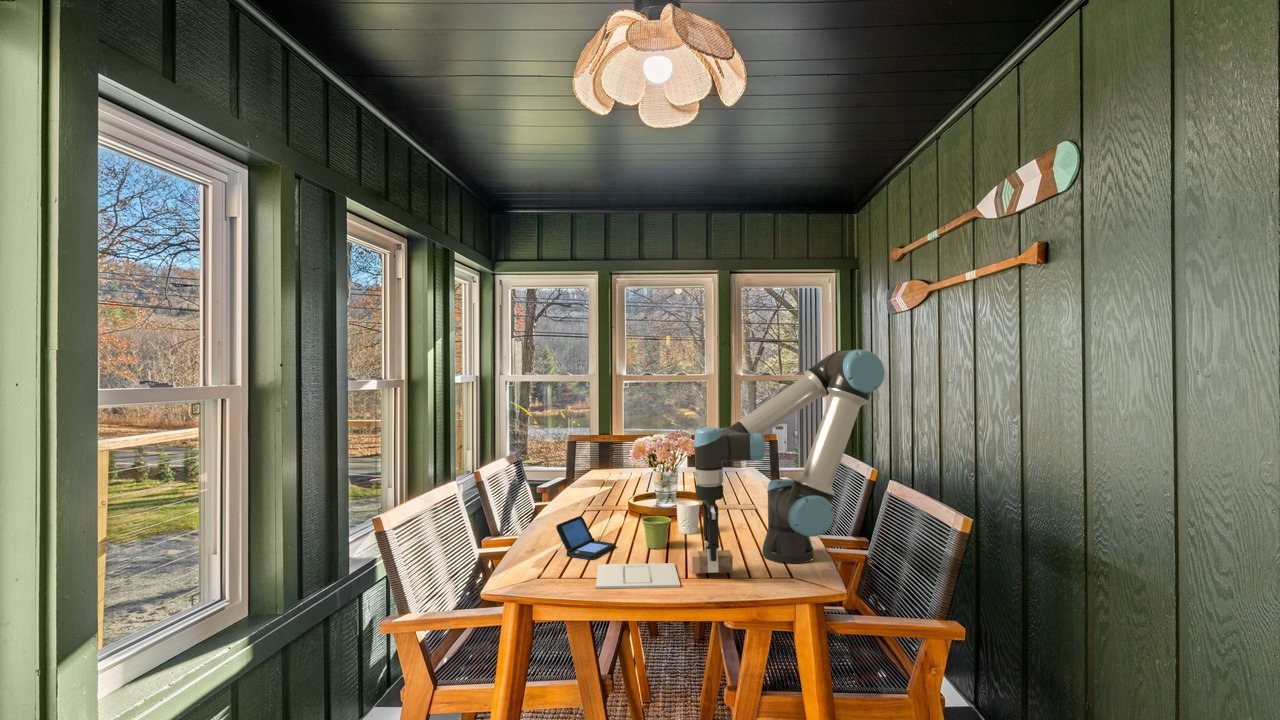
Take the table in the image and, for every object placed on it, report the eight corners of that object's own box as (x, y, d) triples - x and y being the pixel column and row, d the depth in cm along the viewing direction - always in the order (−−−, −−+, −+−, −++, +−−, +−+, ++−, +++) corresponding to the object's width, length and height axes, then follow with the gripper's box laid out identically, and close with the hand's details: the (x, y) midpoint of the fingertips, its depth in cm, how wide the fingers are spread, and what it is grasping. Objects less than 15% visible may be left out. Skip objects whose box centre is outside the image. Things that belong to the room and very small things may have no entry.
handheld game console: (592, 561, 189) (592, 530, 189) (554, 555, 195) (554, 525, 195) (617, 547, 203) (617, 518, 203) (581, 542, 209) (580, 514, 209)
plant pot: (660, 540, 210) (660, 514, 210) (677, 547, 202) (676, 520, 202) (636, 545, 205) (636, 518, 205) (652, 552, 197) (652, 524, 197)
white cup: (672, 530, 222) (672, 502, 222) (691, 527, 226) (691, 499, 226) (684, 536, 215) (684, 506, 215) (704, 533, 219) (703, 503, 219)
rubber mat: (674, 565, 184) (674, 563, 184) (680, 587, 166) (680, 584, 166) (597, 566, 184) (597, 564, 184) (595, 588, 166) (595, 586, 166)
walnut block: (729, 566, 178) (729, 550, 178) (732, 572, 173) (732, 555, 173) (690, 567, 178) (690, 551, 178) (692, 573, 173) (692, 556, 173)
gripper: (691, 478, 185) (694, 558, 185) (699, 491, 167) (702, 580, 167) (717, 477, 185) (720, 557, 185) (728, 490, 167) (731, 579, 167)
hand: (711, 568), depth 176 cm, fingers closed on walnut block, 5 cm apart
